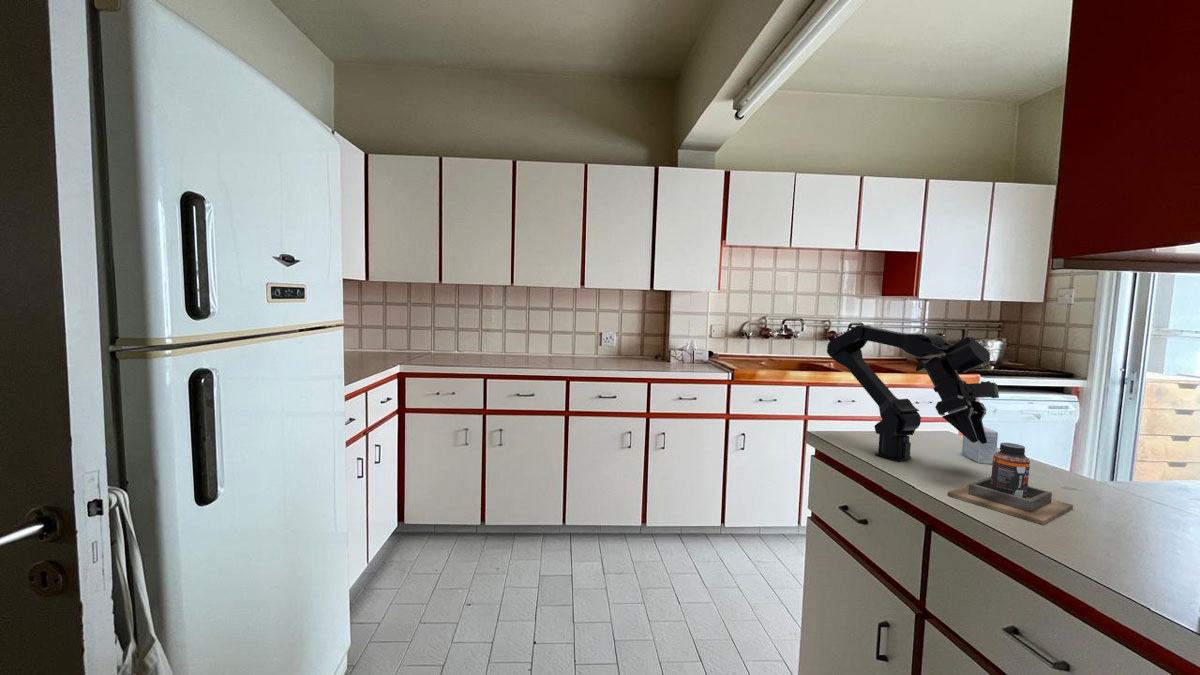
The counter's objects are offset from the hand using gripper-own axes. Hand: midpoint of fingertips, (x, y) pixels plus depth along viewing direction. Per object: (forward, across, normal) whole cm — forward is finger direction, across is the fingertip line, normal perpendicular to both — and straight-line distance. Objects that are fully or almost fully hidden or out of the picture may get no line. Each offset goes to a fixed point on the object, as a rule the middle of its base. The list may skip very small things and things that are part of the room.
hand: (980, 442), depth 115 cm
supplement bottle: (+12, -6, -1) cm, 14 cm away
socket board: (+13, -6, 0) cm, 15 cm away
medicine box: (+2, +25, +7) cm, 26 cm away
